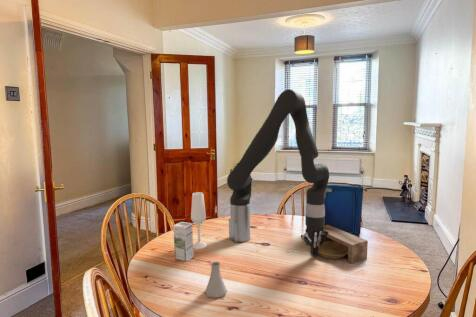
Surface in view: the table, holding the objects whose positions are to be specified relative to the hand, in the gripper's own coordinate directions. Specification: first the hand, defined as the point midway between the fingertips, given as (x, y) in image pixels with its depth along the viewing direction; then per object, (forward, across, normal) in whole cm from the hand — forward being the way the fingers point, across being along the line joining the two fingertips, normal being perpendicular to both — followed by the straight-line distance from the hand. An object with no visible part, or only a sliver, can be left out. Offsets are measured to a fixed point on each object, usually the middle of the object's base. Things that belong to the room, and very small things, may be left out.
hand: (314, 255), depth 126 cm
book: (+1, -29, -15) cm, 32 cm away
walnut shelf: (+1, -13, 0) cm, 13 cm away
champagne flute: (+1, +36, -35) cm, 50 cm away
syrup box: (+1, +46, -26) cm, 53 cm away
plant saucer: (+1, -9, 0) cm, 9 cm away
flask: (+1, +45, +4) cm, 46 cm away
